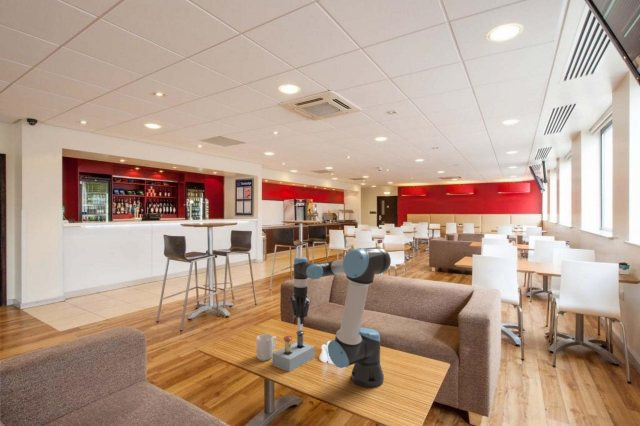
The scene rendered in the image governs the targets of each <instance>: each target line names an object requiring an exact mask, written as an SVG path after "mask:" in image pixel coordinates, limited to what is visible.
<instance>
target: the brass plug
mask: <svg viewBox="0 0 640 426" xmlns="http://www.w3.org/2000/svg"><path fill="white" fill-rule="evenodd" d="M283 341H284V348H285V354H286V355H290V354H291V344H292V336H290V335H285V336H283Z"/></svg>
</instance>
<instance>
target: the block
mask: <svg viewBox="0 0 640 426" xmlns="http://www.w3.org/2000/svg"><path fill="white" fill-rule="evenodd" d="M314 358H315V346H314V345H312V344H307V343H305V342H303V348H301V349H299V348H297V341H295V342H293V343H291V354H290V355H286V354H285V347H282V348H280V349H278V350H277V351H273V355H272V358H271V359H272V360H271V361H272V362H271V363H272V366H275V367H277V368H279V369H282V370H284V371H287V372H292V371H294V370H295V369H297V368H299V367H301V366H302V365H304V364H305V363H308V362H309V361H312V360H313V359H314Z"/></svg>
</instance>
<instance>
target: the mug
mask: <svg viewBox="0 0 640 426" xmlns="http://www.w3.org/2000/svg"><path fill="white" fill-rule="evenodd" d="M277 338H278V337H277V336H273V335H272V334H269V333H268V334H267V333H265V334H261V335H258V336H256V358H257V359H258V360H259V361H263V362H266V361H269V360H271V359H272V355H273V353H274V350H275V349H276V347H277Z"/></svg>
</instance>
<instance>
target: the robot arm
mask: <svg viewBox="0 0 640 426" xmlns="http://www.w3.org/2000/svg"><path fill="white" fill-rule="evenodd" d="M308 259H309V258H308V257H303V256H302V257H295V258H294V260H293V296H291V297H290V301H291V306H292V313H293V316H295V317H296V324H297V331H303V330H304V324H305V320H304V319H305V318H307V316H308V313H309V309H310V305H311V302H312V300H311V299H308V278H309V279H311V280H319V279H321V278H322V277H323V278H324V277H329V276H338V275H346V279H347V280H348V284H347V291H346V296H345V301H344V306H343V313H342V317H341V318H342V319H341V323H340V328H339V329H338V330H337V331H336V333H335V337H334V339H333V340H331V341H329V343H328V346H327V350H328V351H327V352H328V356H329V358H330V361H332V363H333V364H334V366H335V367H337V368H340V369H341V368H343V369H344V368H347V367H350V366H351V365H353V367H352V370H351V381H352V382H353V383H354V384H355V385H358V386H361V387H365V388H375V386H376V387H379V386H381V385H382V384H383V383H384V382H383V381H384V380H385V376H384V372H383V369H382V365H381V334H380V333H379V332H378V330H376V329H372V328H368V327H362V321H363V317H364V311H365V305H366V302H367V301H366V300H367V296H368V292H369V286H370V285H372V284H374V278H375V276H376V275H380V274H384V273H385V272H386V271H388V270H389V269H390V266H391V262H392V258H391V256H390V253H389V252H388V251H387V250H386V249H384V248H383V247H377V246H376V247H364V248H362V247H359V248H358V247H357V248H353V249H350V250H349V251H348V252H347V253H346V254H345V256H344V258H342V259H335V260H331V261H322V262H314V263H312V262H311V263H310V262H309V261H308Z"/></svg>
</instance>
